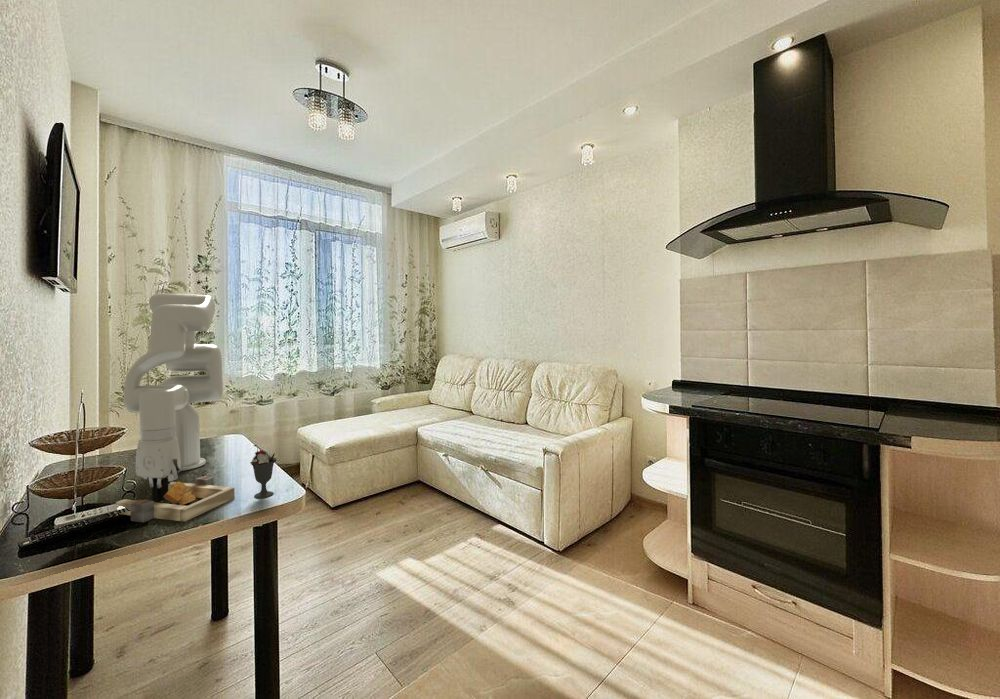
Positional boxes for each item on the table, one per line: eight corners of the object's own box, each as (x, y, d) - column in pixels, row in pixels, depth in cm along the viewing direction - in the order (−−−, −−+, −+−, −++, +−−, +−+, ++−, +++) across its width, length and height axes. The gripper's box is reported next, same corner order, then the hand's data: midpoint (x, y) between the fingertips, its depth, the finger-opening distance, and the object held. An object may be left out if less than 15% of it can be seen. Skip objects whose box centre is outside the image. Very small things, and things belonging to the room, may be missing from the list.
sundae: (245, 496, 120) (244, 444, 119) (269, 489, 125) (268, 439, 125) (257, 501, 116) (256, 448, 115) (281, 494, 122) (280, 443, 121)
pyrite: (195, 498, 118) (183, 511, 115) (175, 484, 116) (161, 496, 113) (201, 493, 115) (188, 506, 112) (179, 479, 113) (166, 492, 110)
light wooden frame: (105, 517, 105) (104, 500, 105) (180, 488, 125) (179, 473, 125) (175, 526, 101) (175, 507, 101) (241, 494, 121) (241, 479, 121)
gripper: (121, 436, 111) (123, 503, 112) (167, 439, 108) (169, 508, 109) (150, 429, 119) (152, 492, 120) (194, 432, 116) (195, 497, 117)
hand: (160, 500), depth 114 cm, fingers closed
